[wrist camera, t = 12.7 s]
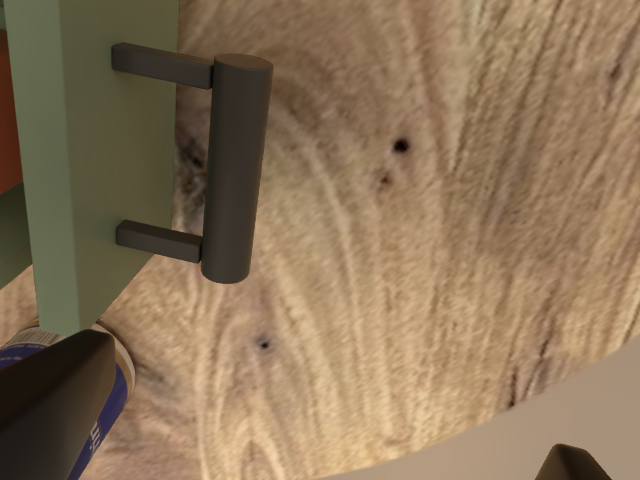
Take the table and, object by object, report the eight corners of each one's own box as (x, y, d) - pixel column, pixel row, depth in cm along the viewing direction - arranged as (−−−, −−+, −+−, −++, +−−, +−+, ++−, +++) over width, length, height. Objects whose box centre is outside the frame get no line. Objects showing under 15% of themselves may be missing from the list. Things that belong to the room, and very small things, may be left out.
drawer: (313, -22, 16) (253, -2, 10) (273, 257, 20) (217, 374, 15) (-184, -118, 17) (-478, -145, 11) (-115, 169, 21) (-300, 247, 16)
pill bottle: (107, 423, 28) (-38, 644, 19) (5, 358, 27) (-196, 560, 18) (162, 359, 25) (22, 582, 16) (51, 284, 24) (-160, 479, 15)
